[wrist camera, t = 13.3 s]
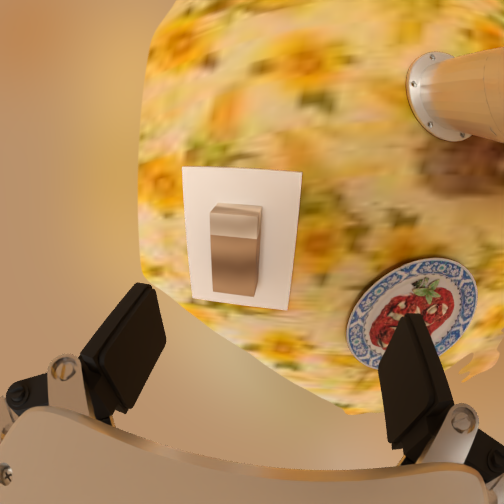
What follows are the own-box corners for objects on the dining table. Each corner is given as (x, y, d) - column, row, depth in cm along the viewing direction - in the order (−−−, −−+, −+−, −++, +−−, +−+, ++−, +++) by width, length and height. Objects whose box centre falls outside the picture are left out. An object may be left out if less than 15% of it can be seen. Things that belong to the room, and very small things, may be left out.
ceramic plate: (426, 368, 48) (429, 378, 45) (323, 351, 49) (323, 363, 46) (493, 273, 35) (501, 282, 33) (385, 230, 36) (391, 239, 34)
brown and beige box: (258, 281, 43) (254, 297, 39) (219, 276, 43) (212, 291, 40) (262, 206, 37) (257, 216, 33) (218, 202, 38) (209, 212, 34)
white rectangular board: (302, 172, 34) (302, 173, 34) (287, 308, 45) (287, 310, 44) (183, 166, 36) (182, 166, 36) (193, 295, 47) (192, 297, 46)
